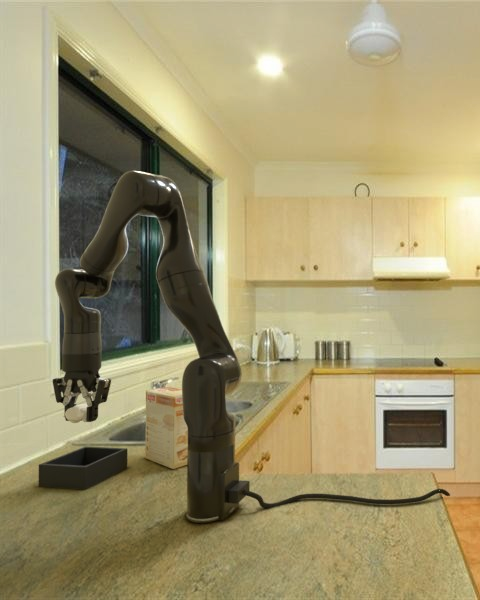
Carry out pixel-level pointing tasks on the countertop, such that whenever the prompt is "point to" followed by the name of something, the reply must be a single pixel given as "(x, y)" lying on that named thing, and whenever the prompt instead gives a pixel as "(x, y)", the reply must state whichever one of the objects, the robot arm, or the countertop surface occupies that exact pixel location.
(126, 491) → the countertop surface
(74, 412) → the dumpling
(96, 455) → the basin
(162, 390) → the coffeecake box
